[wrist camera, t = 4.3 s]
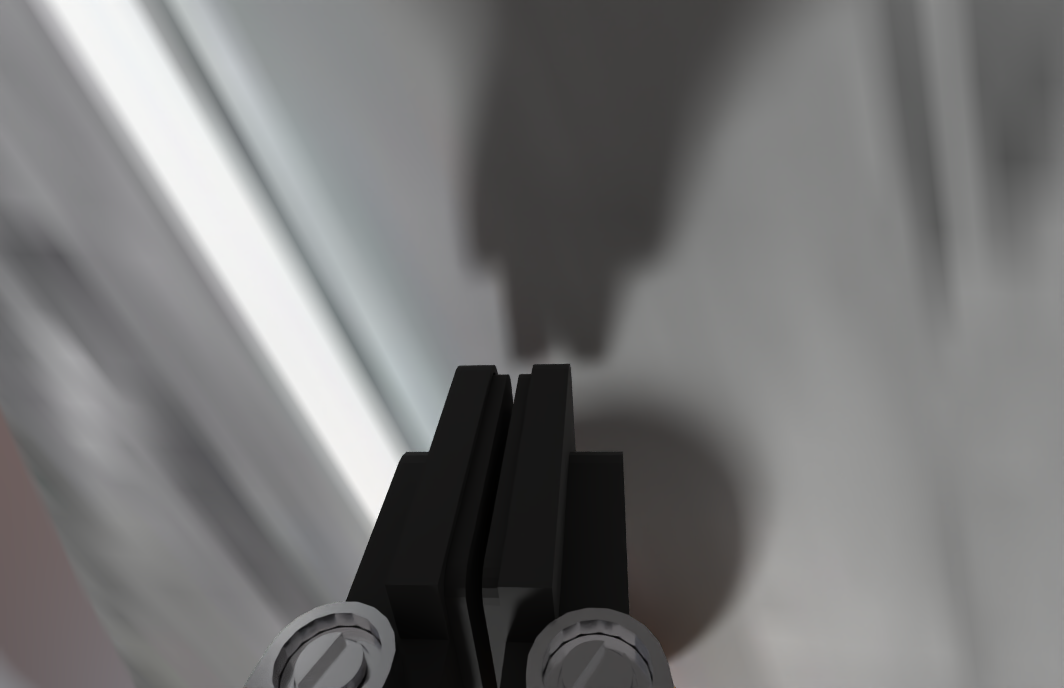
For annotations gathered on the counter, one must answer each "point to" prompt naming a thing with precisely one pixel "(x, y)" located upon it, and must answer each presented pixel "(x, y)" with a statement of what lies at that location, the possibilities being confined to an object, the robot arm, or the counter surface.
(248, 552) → the counter surface
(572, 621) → the robot arm
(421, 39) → the counter surface
